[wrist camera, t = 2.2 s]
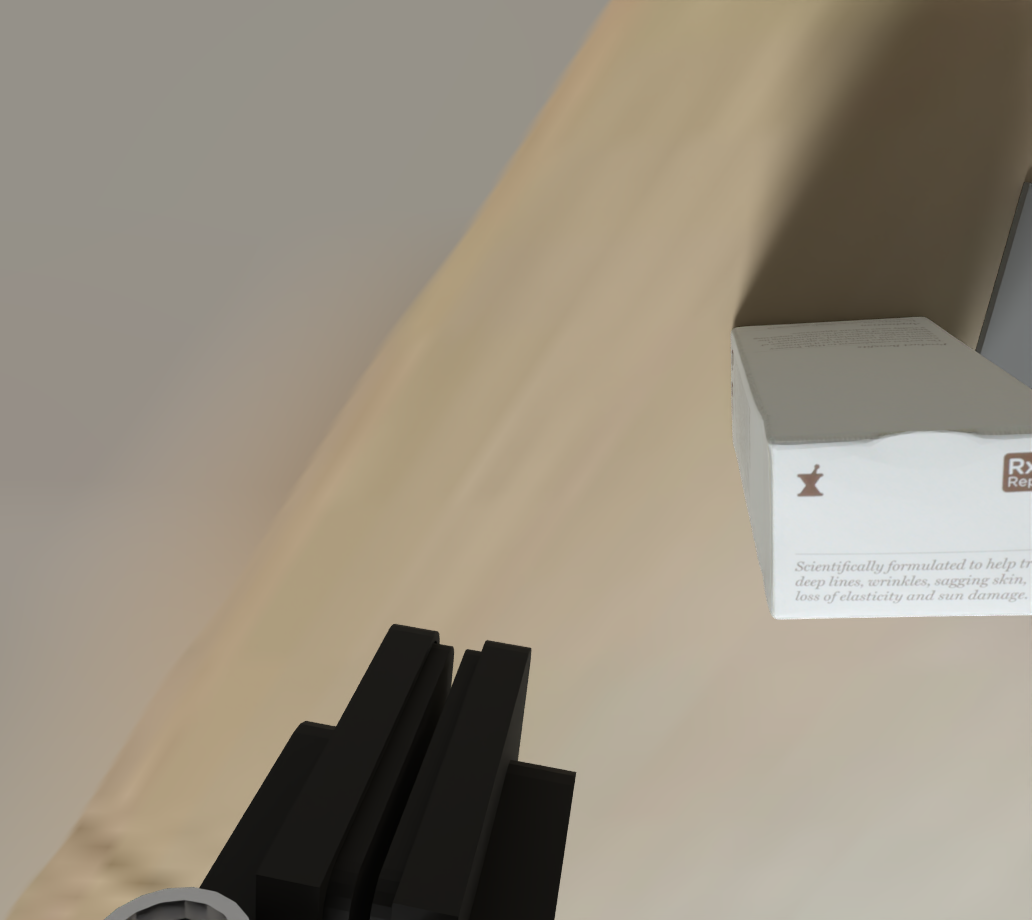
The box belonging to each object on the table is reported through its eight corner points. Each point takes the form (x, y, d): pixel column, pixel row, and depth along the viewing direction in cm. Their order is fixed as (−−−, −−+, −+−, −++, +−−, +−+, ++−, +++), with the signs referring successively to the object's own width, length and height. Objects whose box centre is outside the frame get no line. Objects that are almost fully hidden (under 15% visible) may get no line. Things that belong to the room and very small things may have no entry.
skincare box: (732, 450, 31) (757, 639, 20) (728, 316, 30) (752, 439, 19) (930, 442, 30) (1074, 639, 19) (937, 302, 29) (1097, 425, 17)
